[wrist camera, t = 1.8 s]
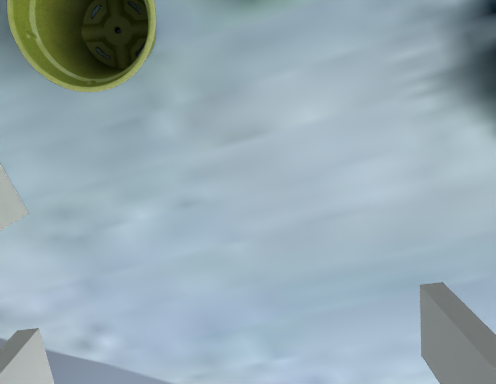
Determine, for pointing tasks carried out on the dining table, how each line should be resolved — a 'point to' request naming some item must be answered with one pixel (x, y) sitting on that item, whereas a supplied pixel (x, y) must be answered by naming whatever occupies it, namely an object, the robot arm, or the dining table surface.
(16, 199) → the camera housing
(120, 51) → the plant pot
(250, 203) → the dining table surface
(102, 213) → the dining table surface
